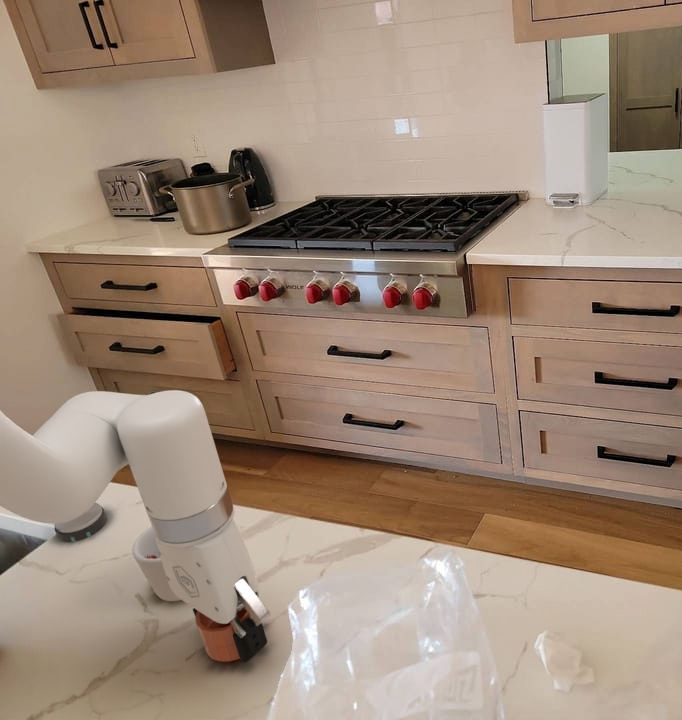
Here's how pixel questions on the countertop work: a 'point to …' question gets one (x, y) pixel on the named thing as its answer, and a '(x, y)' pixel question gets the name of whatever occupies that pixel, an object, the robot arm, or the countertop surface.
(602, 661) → the countertop surface
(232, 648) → the terracotta plant pot
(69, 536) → the scale
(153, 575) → the cup
